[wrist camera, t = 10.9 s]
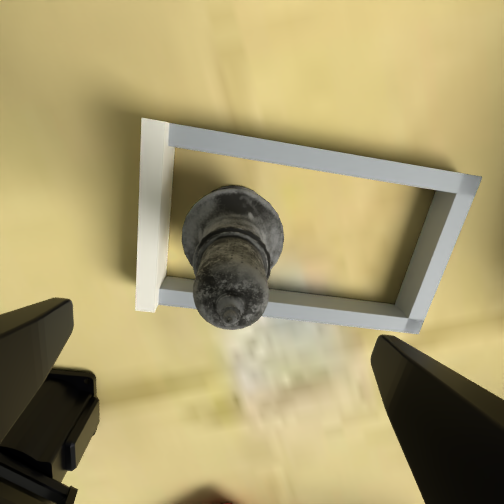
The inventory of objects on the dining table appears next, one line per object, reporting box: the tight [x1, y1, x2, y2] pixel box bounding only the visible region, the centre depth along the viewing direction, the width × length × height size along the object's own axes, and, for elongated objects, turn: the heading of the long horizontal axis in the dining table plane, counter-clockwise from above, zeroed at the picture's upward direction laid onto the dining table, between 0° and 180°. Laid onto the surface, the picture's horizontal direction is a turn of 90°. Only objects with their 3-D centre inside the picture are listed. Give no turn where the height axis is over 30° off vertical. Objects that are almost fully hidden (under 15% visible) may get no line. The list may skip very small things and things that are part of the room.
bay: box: [135, 118, 482, 334], centre depth 19 cm, size 20×11×3 cm, turn 81°
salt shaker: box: [182, 185, 284, 330], centre depth 15 cm, size 6×6×12 cm
